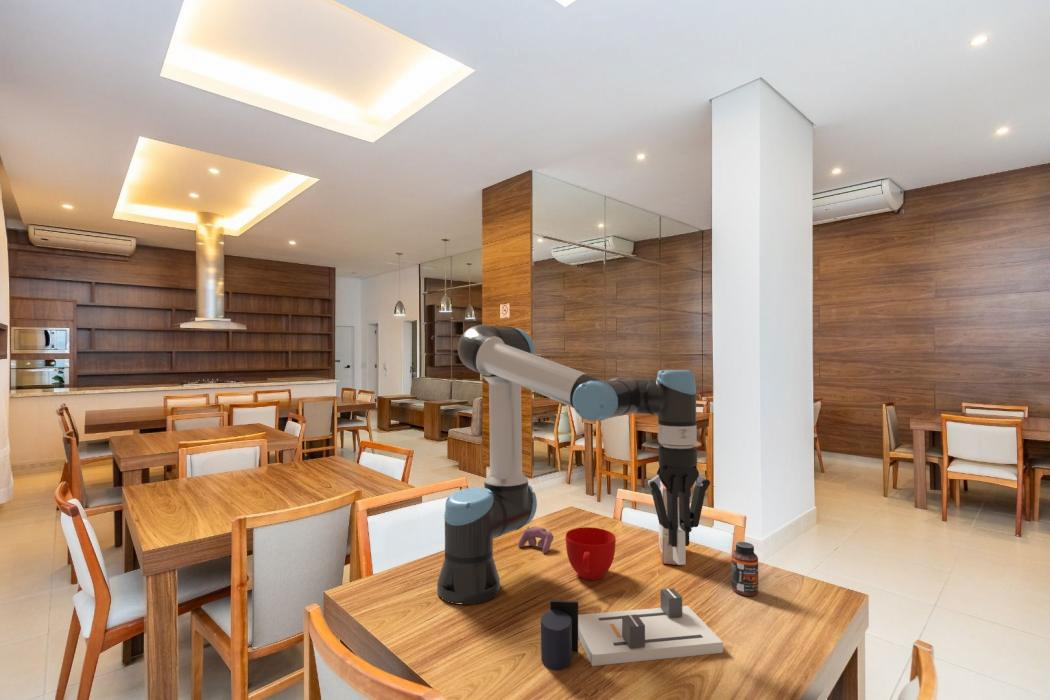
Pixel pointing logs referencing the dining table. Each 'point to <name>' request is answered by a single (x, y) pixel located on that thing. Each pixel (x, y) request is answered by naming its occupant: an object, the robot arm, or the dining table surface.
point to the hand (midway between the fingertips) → (679, 561)
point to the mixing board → (646, 636)
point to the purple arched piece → (531, 536)
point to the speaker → (559, 634)
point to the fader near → (633, 631)
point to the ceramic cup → (590, 551)
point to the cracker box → (666, 535)
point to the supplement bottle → (744, 570)
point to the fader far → (671, 603)
